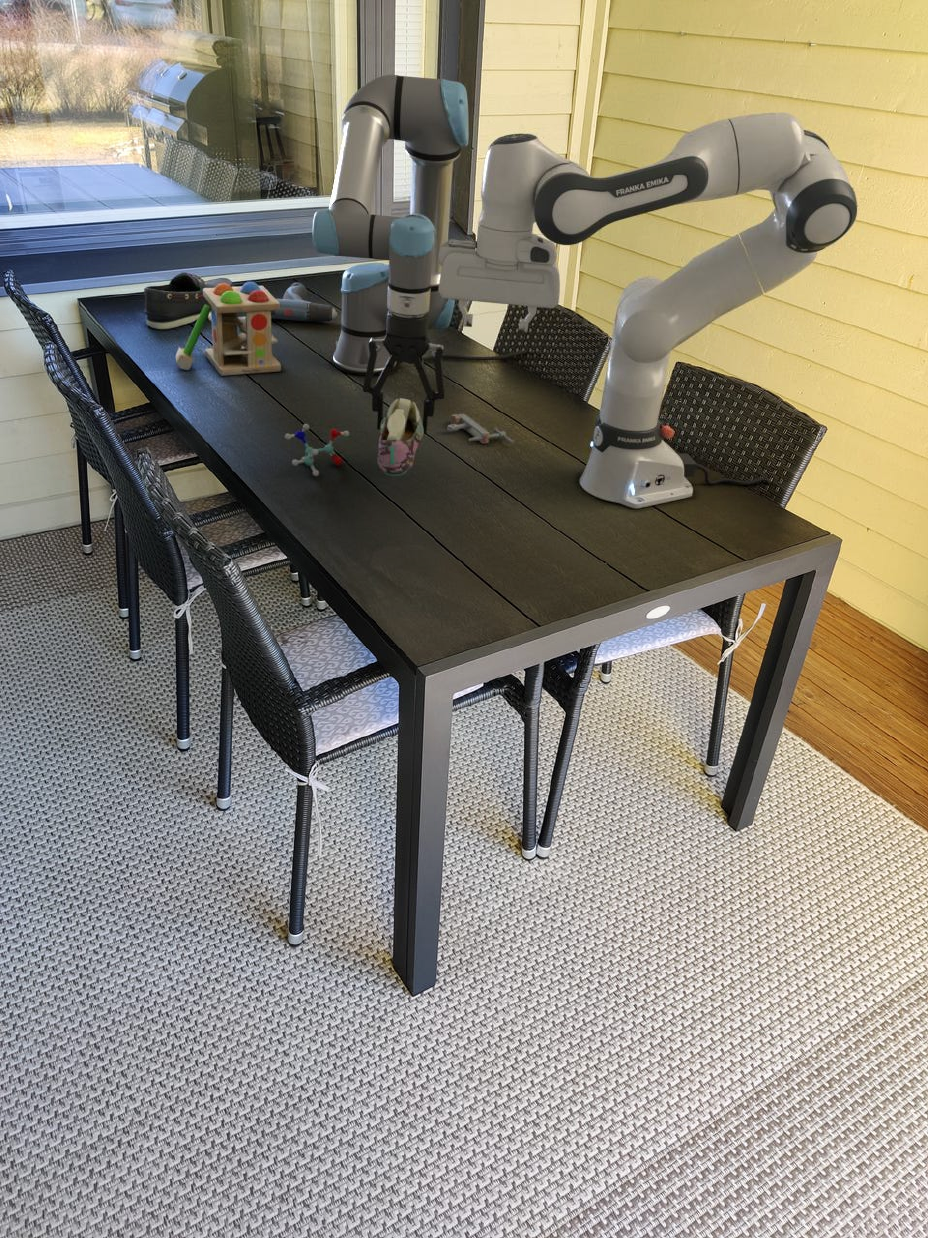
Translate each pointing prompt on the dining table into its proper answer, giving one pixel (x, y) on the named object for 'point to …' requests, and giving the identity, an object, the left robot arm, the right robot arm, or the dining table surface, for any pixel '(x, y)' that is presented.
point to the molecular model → (313, 452)
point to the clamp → (468, 424)
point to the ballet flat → (399, 437)
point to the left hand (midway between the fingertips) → (402, 428)
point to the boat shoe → (178, 300)
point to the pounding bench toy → (229, 347)
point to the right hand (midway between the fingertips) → (495, 328)
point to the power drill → (301, 307)
